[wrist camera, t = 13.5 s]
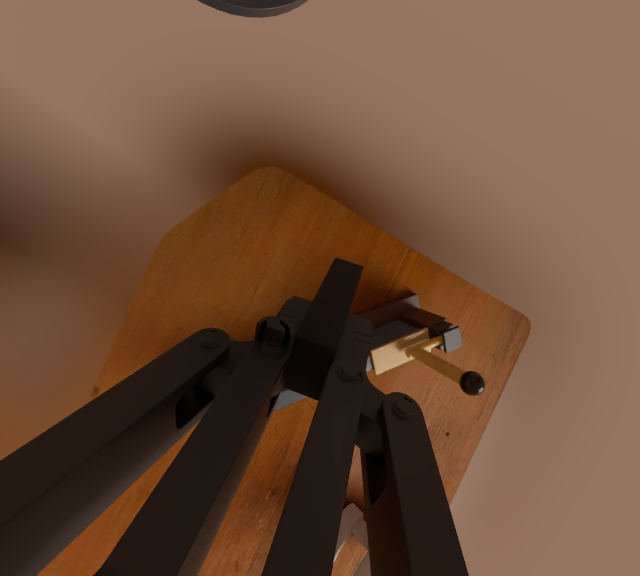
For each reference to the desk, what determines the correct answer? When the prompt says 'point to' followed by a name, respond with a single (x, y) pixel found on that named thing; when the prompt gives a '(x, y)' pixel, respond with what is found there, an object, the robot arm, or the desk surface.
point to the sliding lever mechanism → (396, 337)
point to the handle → (358, 527)
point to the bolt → (447, 367)
